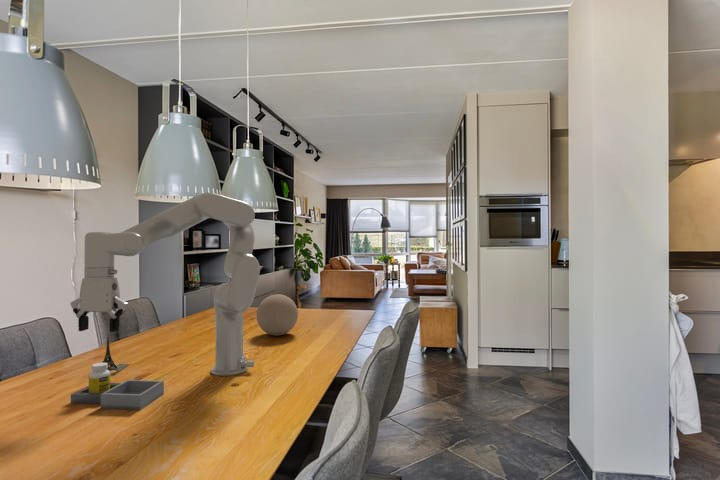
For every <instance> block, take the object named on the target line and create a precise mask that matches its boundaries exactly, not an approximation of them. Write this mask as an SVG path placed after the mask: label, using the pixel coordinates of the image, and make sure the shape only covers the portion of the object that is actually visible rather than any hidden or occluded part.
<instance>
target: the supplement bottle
mask: <svg viewBox="0 0 720 480" xmlns="http://www.w3.org/2000/svg"><path fill="white" fill-rule="evenodd" d="M108 367H109V365H108V363H102V362H97V363H93V364H92V365H91V372H90V373H89V374H88V386H89V393H104V392H106V391H108V390H109V389H110V383H111V375H110V374H111V371H109V370H107V368H108Z"/></svg>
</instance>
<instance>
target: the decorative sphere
mask: <svg viewBox="0 0 720 480" xmlns="http://www.w3.org/2000/svg"><path fill="white" fill-rule="evenodd" d="M297 307H298V306H297V305H296V303H295V302H294V300H293V299H292V298H290V297H289V296H286V295H285V294H280V293H279V294H272V295H268V296H267V297H265V298H264V299H263V300H261V302H260V303H259V305H258V308H257V311H256V322H257V325H258V326H259V328H260V329H261V330H262V332H264V333H266V334H268V335H269V336H270V335H271V336H282V335H286V334H288V333H289V332H291V330H292V329H294V327H295V325H297V322H298V317H299V312H298V311H299V310H298V308H297Z"/></svg>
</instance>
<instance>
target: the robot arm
mask: <svg viewBox="0 0 720 480" xmlns="http://www.w3.org/2000/svg"><path fill="white" fill-rule="evenodd" d="M255 216H256V213H255V209H254V208H253V206H252V205H250V203H247V202H246V201H243V200H238V199H235V198H232V197H229V196H226V195H222V194H218V193H215V192H204V193H201V194H197V195H195V196H192V197H191V198H189V199H187V200H185V201H182V202H180V203H178V204H176V205H174V206H172V207H170V208H168V209H165V210H163V211H162V212H160V213H158V214H156V215H154V216H153V217H150V218H148V219H146V220H144V221H142V222H140V223H137V224H136V225H133V226H132V227H130V228H126V230H124V231H121V232H113V233H112V232H107V231H106V232H105V231H102V232H101V231H90V232H87V233H86V234H85V236H84V258H83V259H84V261H83V262H84V266H83V267H84V272H83V273H84V275H83V276H84V277H83V278H82V280H81V282H80V283H81V284H80V289H79V297H78V298H77V299H75V300H73V301H70V306H71V309H72V312H73V314H75V316H76V318H78V319H77V320H78V326H77V327H78V332H83V331H86V330H89V323H90V322H89V315H88V314H89V313H90V312H91V313H108V314H109V316H110V318H109V332H110V333H114V332H116V331H119V330H120V317H122V315H123V314H124V313H125V312H126V310H127V307H128V305H129V303H128V302H127V301H125V300H123V299H121V295H120V294H121V293H120V286H119V281H118V278H117V277H115V275H117V274H118V269H115V256H122V257H135V256H137V255H139V254H140V253H142V251H143V250H144V248H145V247H147V246H149V245H151V244H153V243H154V242H157V241H161V240H162V239H166V238H170V237H173V236H176V235H178V234H180V233H182V232H184V231H187V229H190V228H192V227H194V226H195V225H198V224H200V223H201V222H203V221H206V220H207V219H214V220H217V221H220V222H222V223H223V224H224V225H225V226H226V228H227V229H228V231H229V235H230V236H229V237H230V238H229V245H228V249H227V253H226V257H225V260H224V265H223V270H224V271H223V272H224V274H225V275H226V276H227V277H228V278H230V281H229V282H228V281H227V282H223V283H221V284H220V285H218V286H217V287H216V288H215V291H214V293H213V306H214V316H215V365H213V366H212V367H211V369H210V373H211V375H212V374H213V375H214V376H221V377H224V376H225V377H229V376H235V375H240V374H242V373H245V372H246V371H248V368H255V361H254V360H253V359H247V357H246V355H244V312H246V311H247V310H249V308H250V307H252V306H251V305H252V304H253V302H254V299H255V295H256V290H257V287H258V282H259V278H260V273H261V266H260V262H259V260H258V259H257V258H256V256H254V255H253V252H254V251H253V250H254V245H255V232H254V228H253V227H252V223H253V222H254V221H255Z"/></svg>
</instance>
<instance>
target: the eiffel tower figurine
mask: <svg viewBox="0 0 720 480" xmlns="http://www.w3.org/2000/svg"><path fill="white" fill-rule="evenodd" d="M109 339H110V336H107V337H106V350H105V356H104V359H103V361H102V362H101V363H108V368H107V370H109V371H110V376H115V375H116V374H118V373H119V372H121V371H122V370H123V369H125V368H127V367H128V366H130V364H129V363H126V364H119V365H117V366H116V365H115V364H114V363H115V361H114V360H113V358H112V355H111V352H110V351H111V350H110V340H109ZM112 371H115V372H112ZM111 372H112V373H111Z"/></svg>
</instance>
